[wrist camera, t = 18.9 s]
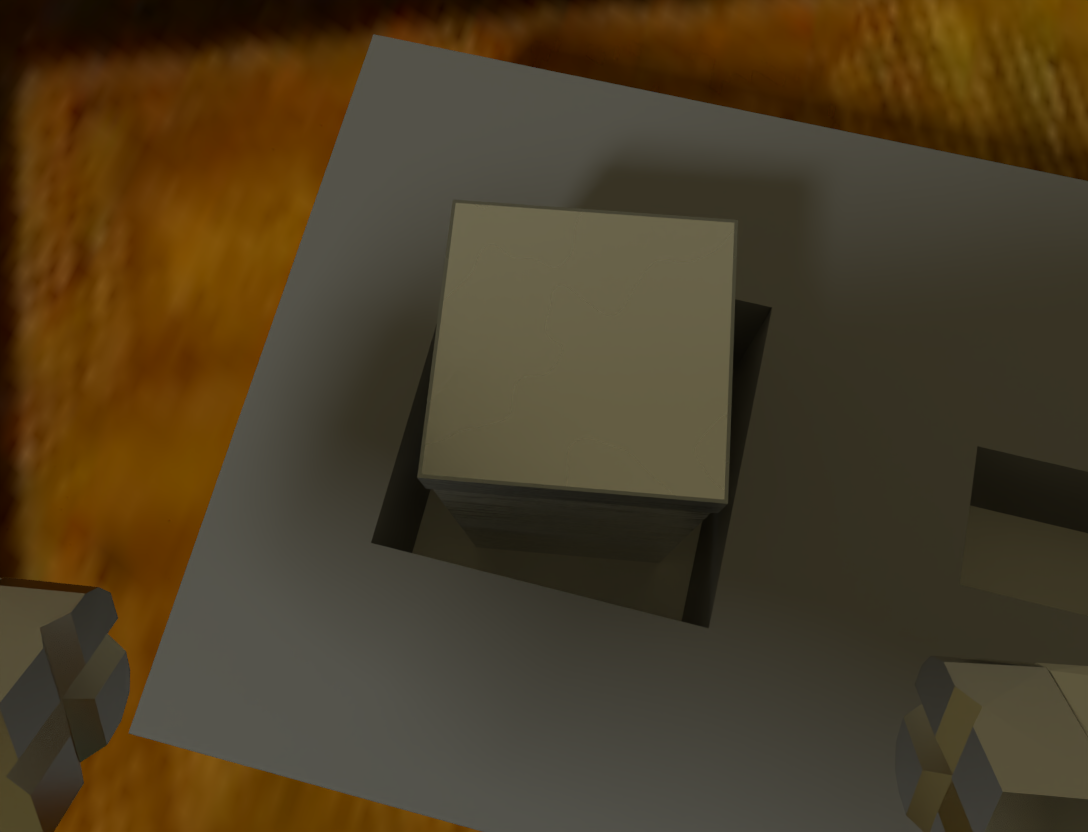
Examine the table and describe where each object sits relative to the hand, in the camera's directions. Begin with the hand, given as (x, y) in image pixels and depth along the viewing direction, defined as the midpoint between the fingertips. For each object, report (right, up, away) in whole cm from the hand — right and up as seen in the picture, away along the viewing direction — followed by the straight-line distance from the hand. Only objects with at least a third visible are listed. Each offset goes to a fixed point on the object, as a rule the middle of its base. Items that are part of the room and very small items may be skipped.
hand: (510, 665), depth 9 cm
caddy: (+7, 0, +11) cm, 13 cm away
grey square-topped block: (+1, +1, +11) cm, 11 cm away
